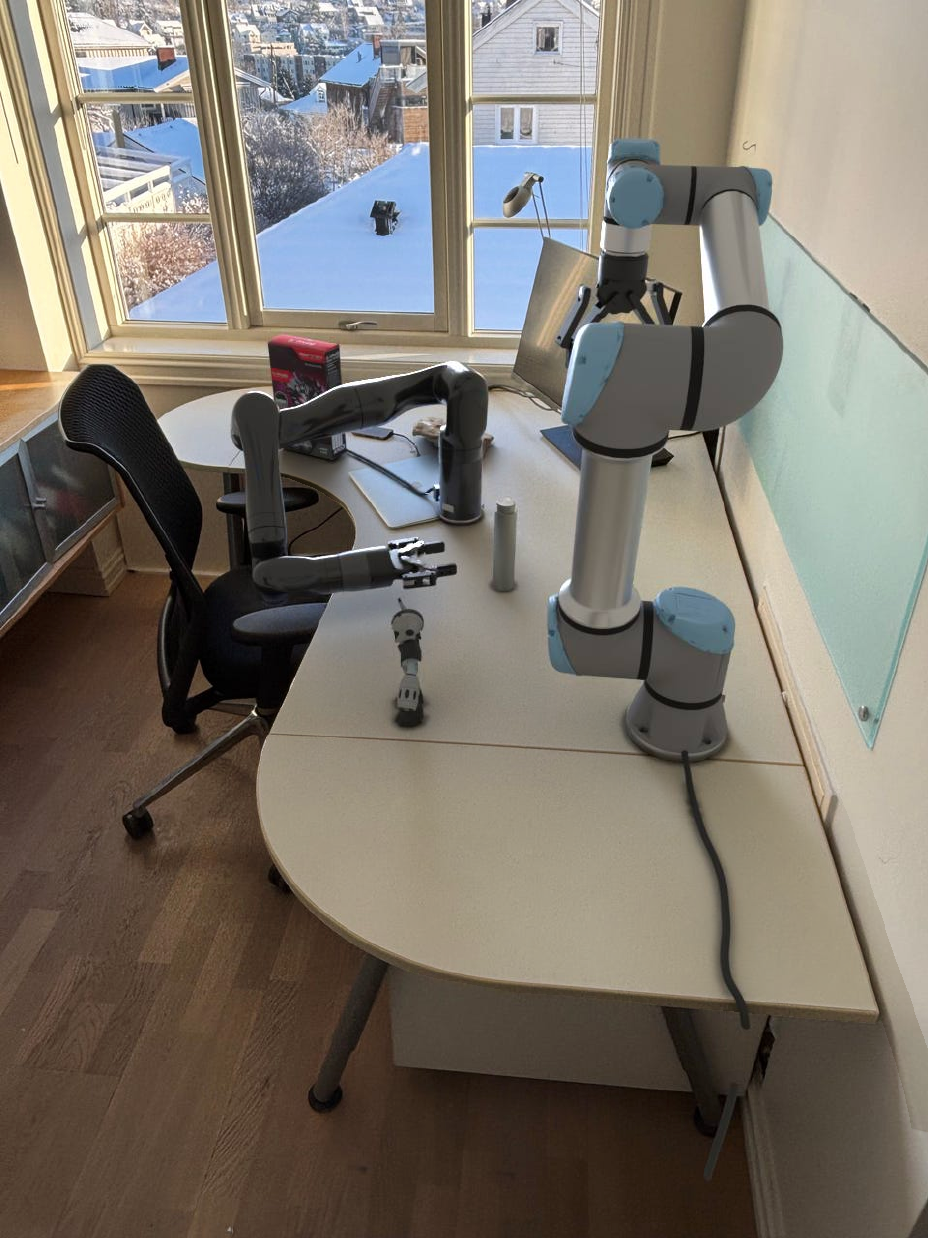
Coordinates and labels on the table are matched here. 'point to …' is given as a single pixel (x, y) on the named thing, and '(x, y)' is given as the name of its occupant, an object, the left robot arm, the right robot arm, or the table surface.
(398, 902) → the table surface
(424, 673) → the table surface
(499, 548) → the grey capped cylinder
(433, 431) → the stone
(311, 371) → the graphics card box
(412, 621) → the robot
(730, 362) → the right robot arm
